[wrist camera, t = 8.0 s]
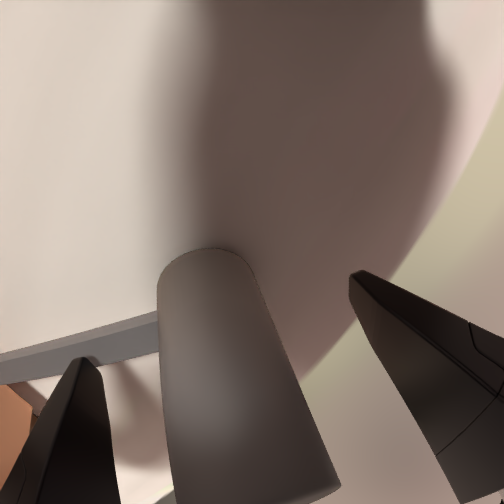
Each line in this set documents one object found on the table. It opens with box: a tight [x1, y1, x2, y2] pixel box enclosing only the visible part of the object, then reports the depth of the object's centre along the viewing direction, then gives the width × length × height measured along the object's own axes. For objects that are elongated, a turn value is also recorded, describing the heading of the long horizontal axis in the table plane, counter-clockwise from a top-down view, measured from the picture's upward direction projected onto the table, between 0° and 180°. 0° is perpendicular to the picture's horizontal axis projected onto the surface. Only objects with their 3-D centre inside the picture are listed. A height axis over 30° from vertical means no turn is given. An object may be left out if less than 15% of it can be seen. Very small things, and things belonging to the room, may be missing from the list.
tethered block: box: [0, 248, 341, 504], centre depth 6 cm, size 17×6×6 cm, turn 102°
